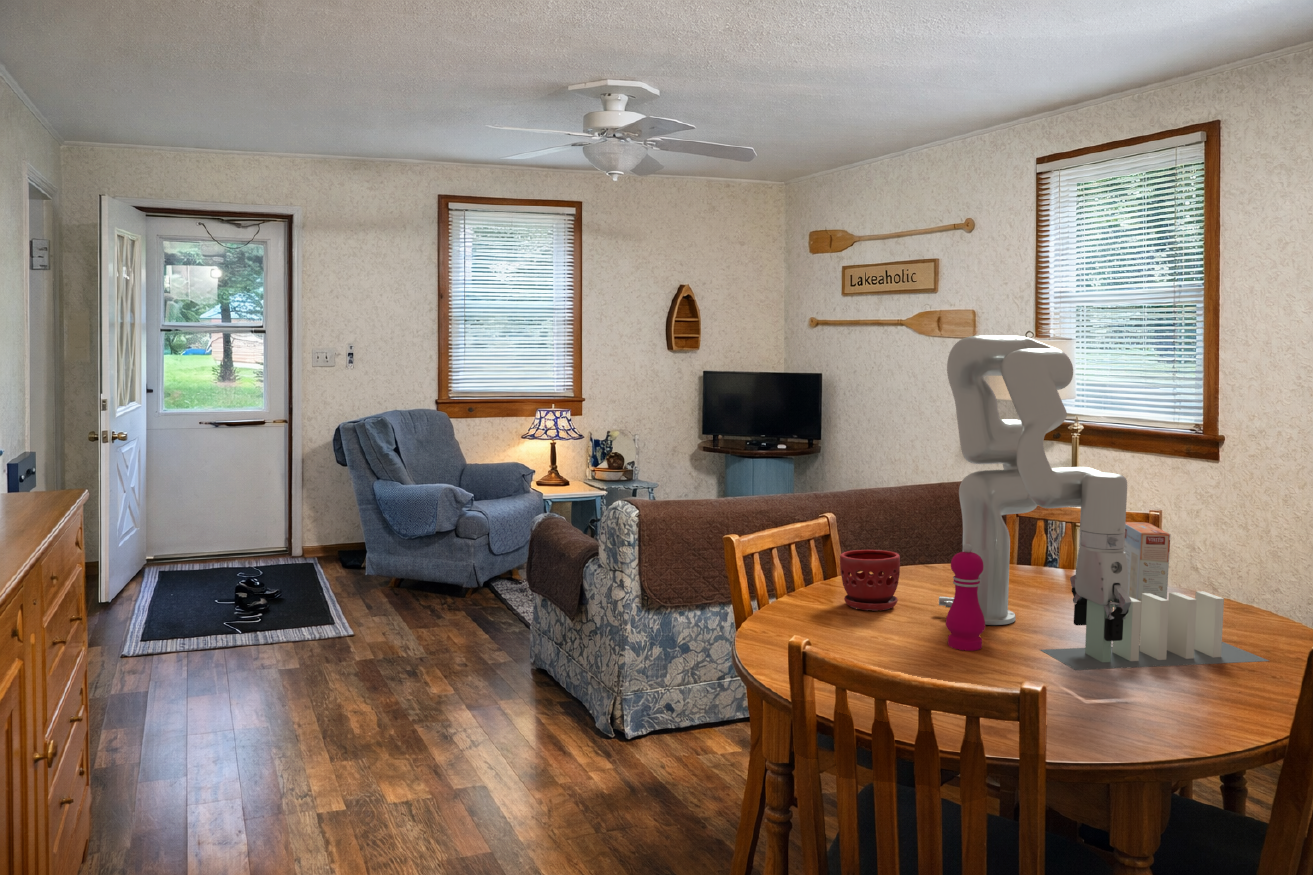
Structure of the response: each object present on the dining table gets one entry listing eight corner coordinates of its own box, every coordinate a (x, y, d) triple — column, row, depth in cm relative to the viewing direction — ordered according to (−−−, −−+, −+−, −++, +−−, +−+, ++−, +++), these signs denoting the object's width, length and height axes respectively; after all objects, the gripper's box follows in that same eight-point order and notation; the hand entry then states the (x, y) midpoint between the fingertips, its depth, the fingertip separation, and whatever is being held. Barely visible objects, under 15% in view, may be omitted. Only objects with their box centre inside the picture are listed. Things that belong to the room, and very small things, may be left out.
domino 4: (1213, 657, 180) (1216, 598, 179) (1192, 648, 185) (1195, 591, 184) (1221, 657, 180) (1224, 598, 179) (1200, 648, 186) (1203, 591, 185)
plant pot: (897, 600, 224) (898, 548, 223) (901, 615, 211) (902, 560, 210) (839, 597, 226) (839, 546, 225) (839, 612, 213) (840, 558, 212)
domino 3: (1185, 658, 179) (1188, 599, 178) (1166, 649, 185) (1168, 592, 184) (1193, 658, 179) (1196, 599, 178) (1174, 649, 185) (1176, 592, 184)
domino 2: (1158, 659, 178) (1160, 600, 178) (1139, 650, 184) (1141, 593, 183) (1166, 659, 179) (1169, 600, 178) (1147, 650, 184) (1149, 593, 183)
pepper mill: (964, 653, 184) (967, 548, 182) (937, 643, 190) (939, 542, 188) (992, 648, 187) (995, 545, 185) (964, 638, 193) (967, 539, 192)
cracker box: (1167, 637, 195) (1172, 533, 193) (1134, 635, 196) (1139, 532, 194) (1146, 618, 208) (1151, 521, 207) (1116, 617, 210) (1120, 520, 208)
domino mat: (1075, 672, 173) (1075, 669, 173) (1039, 652, 185) (1039, 649, 185) (1269, 663, 178) (1269, 660, 178) (1222, 644, 190) (1223, 641, 190)
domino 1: (1130, 661, 178) (1132, 601, 177) (1112, 652, 183) (1114, 594, 182) (1138, 660, 178) (1141, 601, 177) (1120, 651, 183) (1122, 594, 182)
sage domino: (1102, 662, 177) (1104, 602, 176) (1085, 653, 182) (1087, 595, 181) (1110, 661, 177) (1113, 602, 176) (1093, 652, 183) (1095, 594, 182)
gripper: (1150, 550, 170) (1145, 645, 172) (1093, 531, 187) (1089, 618, 189) (1111, 551, 169) (1106, 647, 171) (1056, 532, 186) (1052, 620, 188)
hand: (1097, 632), depth 180 cm, fingers open, 9 cm apart
